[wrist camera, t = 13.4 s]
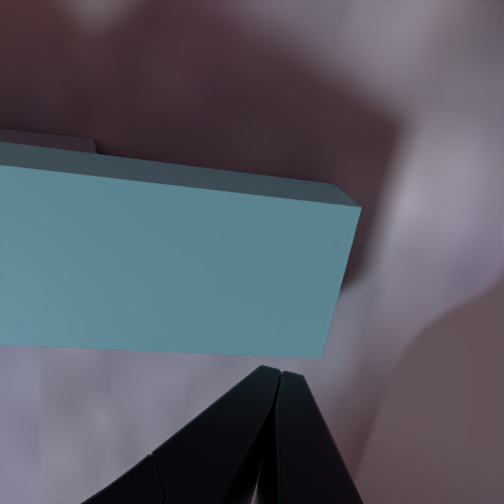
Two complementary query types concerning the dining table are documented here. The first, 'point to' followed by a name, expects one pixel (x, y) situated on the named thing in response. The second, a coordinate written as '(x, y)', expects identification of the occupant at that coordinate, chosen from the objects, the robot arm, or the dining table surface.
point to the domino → (167, 255)
